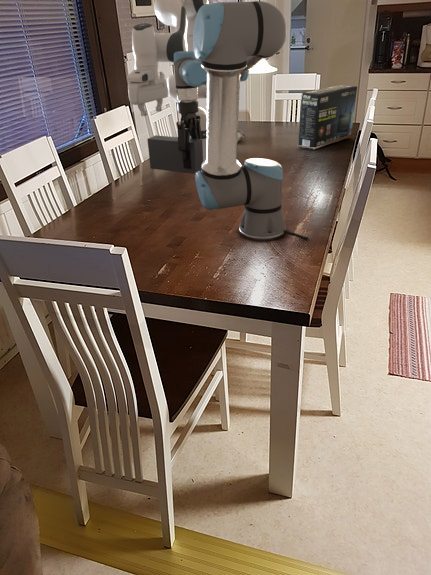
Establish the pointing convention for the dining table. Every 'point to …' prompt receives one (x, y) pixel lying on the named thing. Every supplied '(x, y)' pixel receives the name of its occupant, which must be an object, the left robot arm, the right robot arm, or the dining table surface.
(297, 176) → the dining table surface
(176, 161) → the box
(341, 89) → the router box
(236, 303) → the dining table surface
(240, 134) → the fossil
